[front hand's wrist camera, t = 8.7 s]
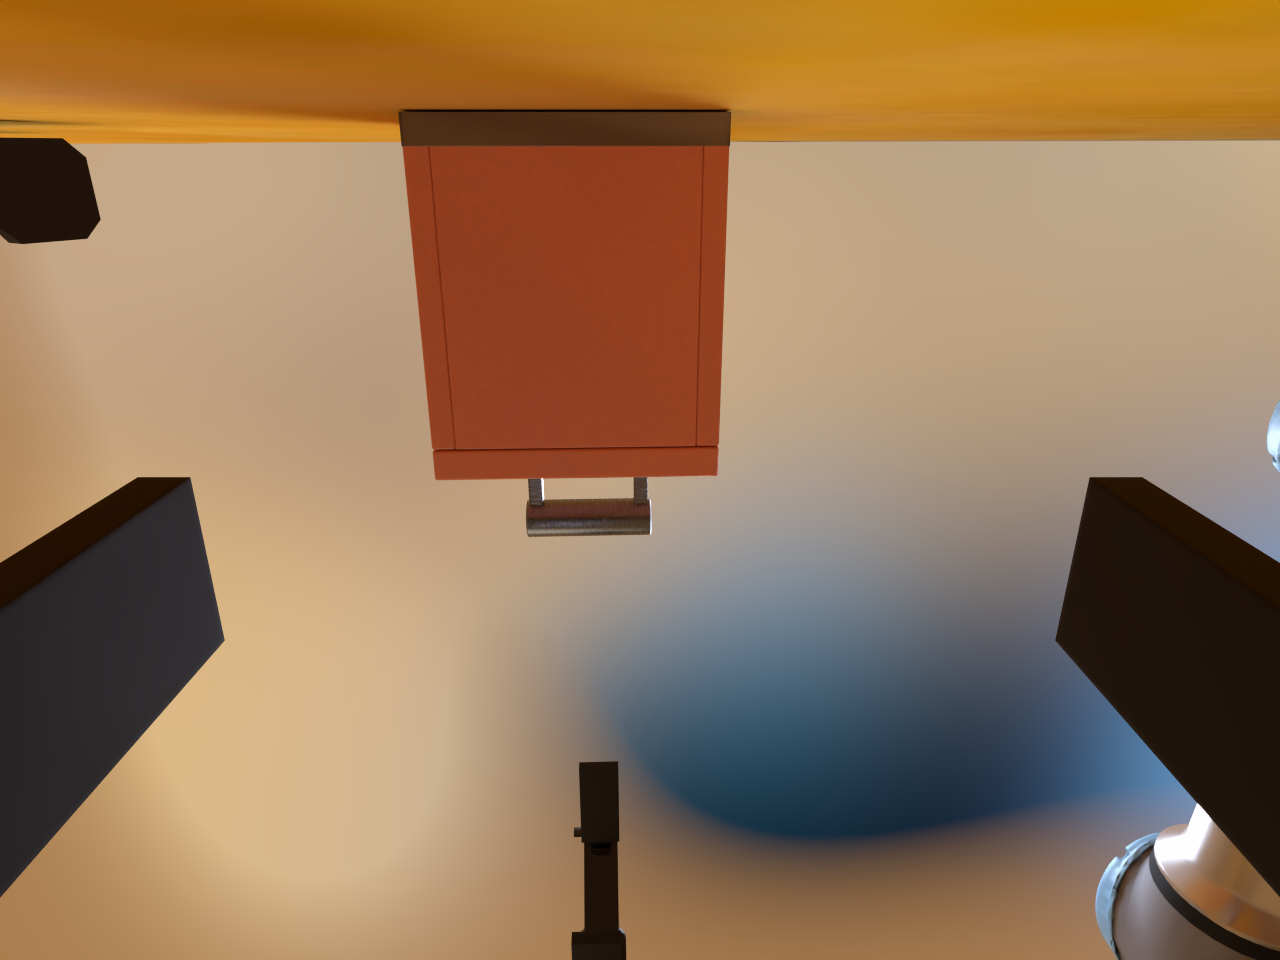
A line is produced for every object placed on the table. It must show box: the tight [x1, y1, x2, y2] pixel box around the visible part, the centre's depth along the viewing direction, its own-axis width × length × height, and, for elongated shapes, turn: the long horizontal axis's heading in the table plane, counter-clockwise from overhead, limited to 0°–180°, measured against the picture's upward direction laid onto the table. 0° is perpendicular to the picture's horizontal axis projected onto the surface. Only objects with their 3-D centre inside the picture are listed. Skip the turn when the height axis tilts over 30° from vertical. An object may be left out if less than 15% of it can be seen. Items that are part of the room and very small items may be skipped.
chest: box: [398, 112, 731, 449], centre depth 33 cm, size 14×10×10 cm
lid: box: [433, 445, 719, 537], centre depth 37 cm, size 15×10×9 cm, turn 178°
